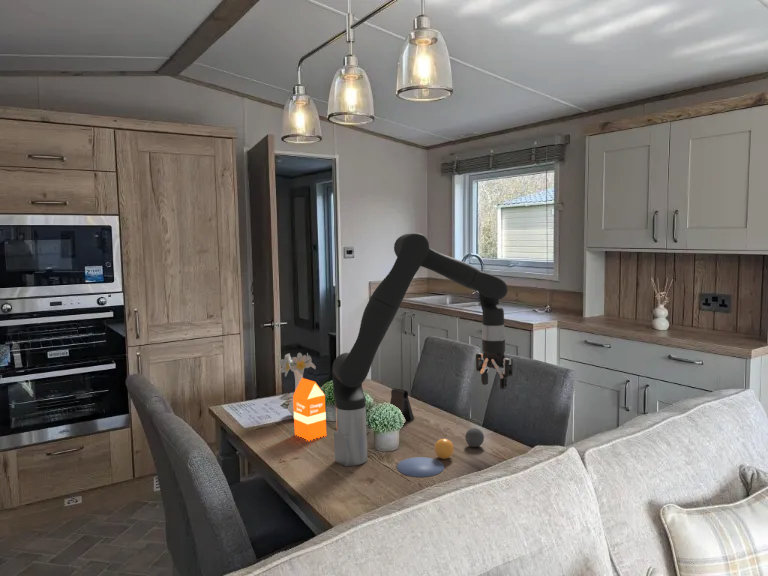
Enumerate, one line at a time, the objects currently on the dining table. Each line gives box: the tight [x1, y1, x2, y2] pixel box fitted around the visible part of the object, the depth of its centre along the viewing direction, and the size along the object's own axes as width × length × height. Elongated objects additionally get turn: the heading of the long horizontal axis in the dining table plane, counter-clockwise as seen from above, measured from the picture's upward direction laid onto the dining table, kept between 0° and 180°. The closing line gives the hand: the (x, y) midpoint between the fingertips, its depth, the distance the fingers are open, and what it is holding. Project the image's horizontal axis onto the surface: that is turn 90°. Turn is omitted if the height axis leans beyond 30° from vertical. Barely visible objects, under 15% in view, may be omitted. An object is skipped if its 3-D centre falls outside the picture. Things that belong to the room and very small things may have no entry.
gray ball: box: [464, 427, 485, 448], centre depth 181 cm, size 6×6×6 cm
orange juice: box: [292, 377, 327, 442], centre depth 195 cm, size 8×9×20 cm
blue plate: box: [396, 456, 445, 478], centre depth 166 cm, size 14×14×1 cm
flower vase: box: [279, 352, 317, 418], centre depth 217 cm, size 13×18×25 cm
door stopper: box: [389, 387, 415, 423], centre depth 208 cm, size 9×6×12 cm, turn 135°
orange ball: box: [433, 438, 455, 460], centre depth 172 cm, size 6×6×6 cm
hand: (494, 386), depth 186 cm, fingers open, 7 cm apart
